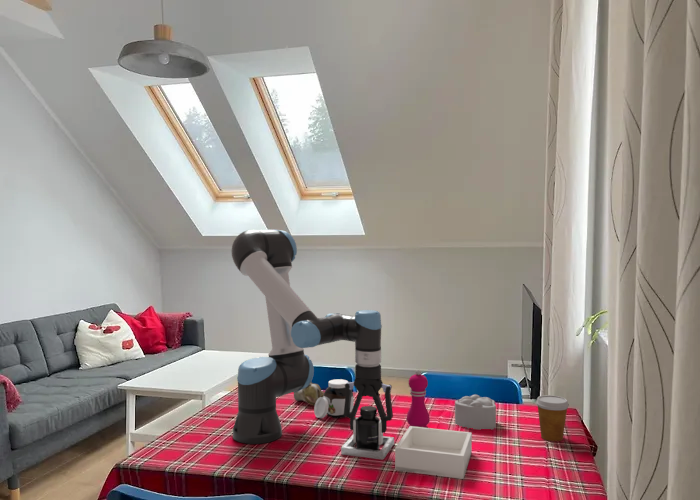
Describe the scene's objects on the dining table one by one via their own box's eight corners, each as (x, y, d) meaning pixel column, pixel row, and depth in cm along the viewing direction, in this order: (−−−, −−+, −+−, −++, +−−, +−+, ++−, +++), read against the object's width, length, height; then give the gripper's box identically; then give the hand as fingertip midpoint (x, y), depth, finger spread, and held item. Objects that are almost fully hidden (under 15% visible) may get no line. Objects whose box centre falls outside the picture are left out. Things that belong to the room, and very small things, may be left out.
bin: (395, 470, 155) (395, 447, 155) (409, 446, 172) (409, 425, 172) (463, 479, 149) (463, 456, 149) (471, 453, 166) (471, 432, 166)
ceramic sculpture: (303, 373, 223) (335, 381, 215) (303, 395, 224) (334, 404, 216) (285, 379, 214) (317, 388, 206) (284, 402, 215) (317, 412, 207)
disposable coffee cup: (569, 435, 181) (570, 396, 180) (567, 445, 172) (567, 405, 171) (537, 430, 185) (538, 393, 184) (533, 440, 176) (534, 401, 175)
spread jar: (356, 414, 201) (356, 381, 201) (338, 423, 192) (338, 388, 191) (328, 408, 208) (328, 376, 207) (309, 417, 198) (309, 383, 198)
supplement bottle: (373, 455, 165) (373, 413, 165) (352, 450, 168) (352, 409, 168) (383, 447, 171) (383, 406, 171) (363, 442, 174) (363, 403, 174)
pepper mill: (428, 437, 179) (428, 372, 178) (405, 435, 180) (405, 371, 180) (430, 429, 186) (430, 367, 185) (407, 427, 187) (407, 366, 187)
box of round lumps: (496, 430, 185) (496, 403, 185) (455, 428, 187) (455, 401, 187) (494, 419, 195) (494, 394, 195) (454, 417, 198) (454, 392, 197)
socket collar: (341, 454, 166) (341, 447, 166) (354, 439, 177) (354, 432, 177) (383, 459, 162) (383, 452, 162) (394, 443, 174) (394, 437, 173)
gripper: (331, 364, 168) (332, 443, 168) (399, 369, 163) (399, 450, 163) (338, 359, 175) (339, 434, 176) (404, 362, 170) (403, 440, 171)
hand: (368, 441), depth 170 cm, fingers closed on supplement bottle, 7 cm apart
